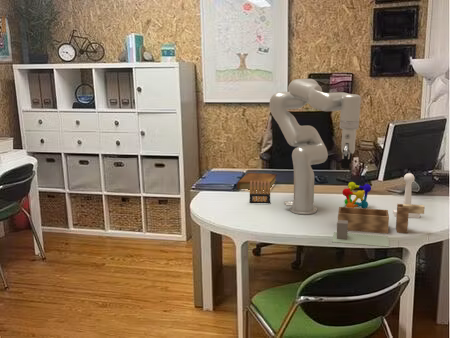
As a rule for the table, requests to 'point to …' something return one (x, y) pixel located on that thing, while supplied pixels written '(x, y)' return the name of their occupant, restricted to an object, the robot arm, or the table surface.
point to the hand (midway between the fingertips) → (346, 165)
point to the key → (415, 208)
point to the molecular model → (358, 194)
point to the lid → (357, 237)
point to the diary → (256, 180)
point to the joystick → (408, 195)
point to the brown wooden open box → (373, 219)
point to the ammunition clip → (259, 193)
